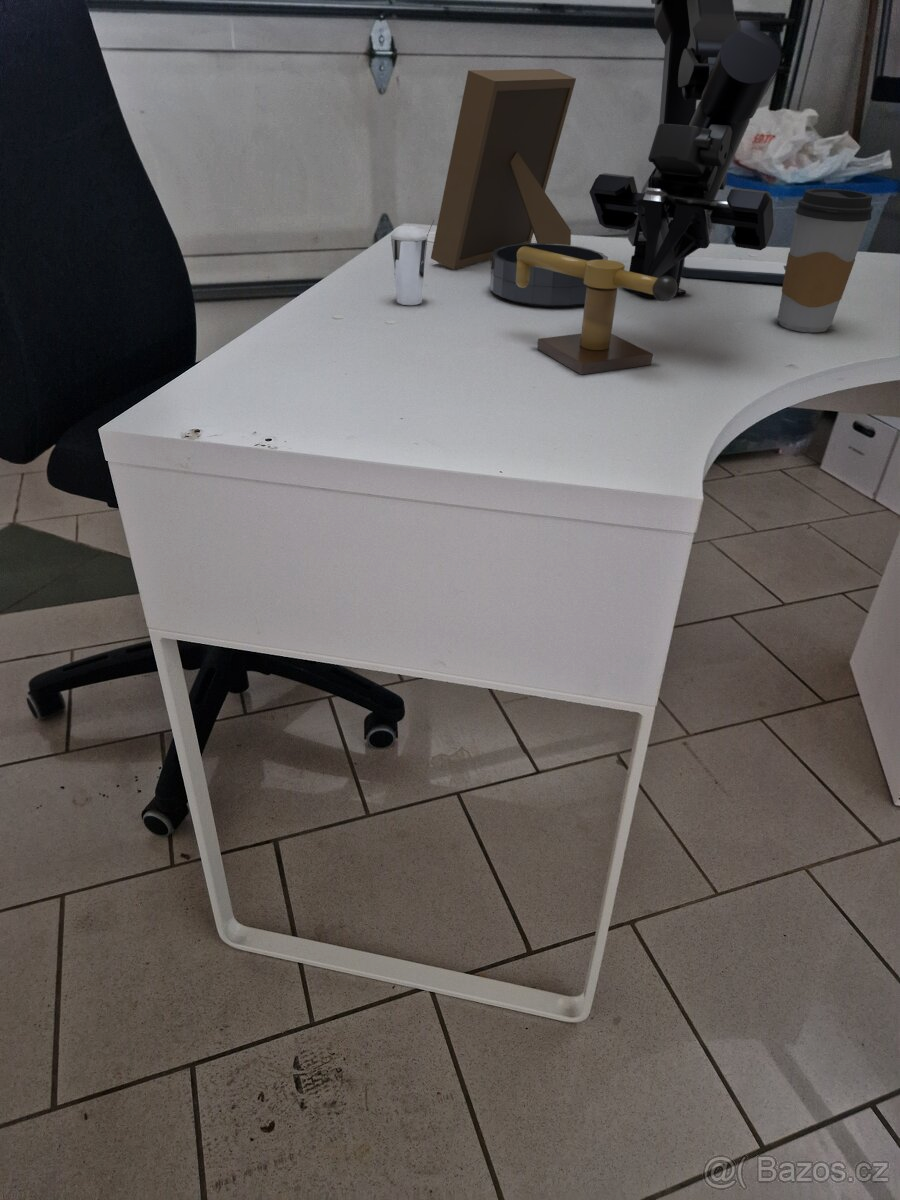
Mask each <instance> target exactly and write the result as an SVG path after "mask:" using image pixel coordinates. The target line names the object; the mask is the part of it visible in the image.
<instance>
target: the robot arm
mask: <svg viewBox="0 0 900 1200" xmlns="http://www.w3.org/2000/svg"><path fill="white" fill-rule="evenodd" d="M650 2H651V5H654V22H653V25H654V28H655V29H656V31H657V34H658V36H659V37H660V39H661V41H662V43H663V45H664V55H663V68H662V80H661V81H662V82H661V95H660V107H659V119H658V125H657V128H656V131H655V134H654V138H653V141H652V144H651V148H650V150H649V154H648V157H647V160H648V161H649V163H652V164H653V166H654V167H655V168H654V169H653V170H652V172H651V174H650V175H649V177H648V178H647V180H646V182H645V183H644V185H643V186H642V188H641V192H638V188H637V183H636V180H635V176H633V175H623V174H614V173H607V172H605V173H604V172H603V173H599V174H598V176H597V177H596V178H595V180H594V181H593V183H592V186H591V187H590V190H589V191H588V192H589V195H590V199H591V201H592V206H593V208H594V211H595V214H596V217H597V220H598V223H599V225H601V226H602V227H603V228H605V229H609V230H617V231H623V232H624V231H625V232H626V231H628V236H627V240H628V242H629V243H630V245H631V246H632V247H634V251H633V255H632V256H631V257H630V264H629V270H628V271H630V272H634V273H639V274H643V275H647V276H652V277H656V278H659V277H661V276H671V277H672V278H674V279H675V281H676V283H677V292H676V295H675V296H683V295H686V294H687V290H686V289H683V288H681V287H680V285H681V279H682V276H681V274H682V268H683V263H684V258H685V257H689V256H690V255H691V254H693V253H694V252H696V251H697V250H699V249H707V248H709V246H710V244H711V240H710V236H711V234H712V232H713V230H715V229H716V227H717V225H724V226H730V227H733V228H734V229H733V231H732V233H731V236H730V237H731V241H732V242H733V244H734V246H735V248H741V249H747V250H756V251H762V250H764V249H765V248H767V245H768V243H769V241H770V239H771V237H772V234H773V230H774V207H773V198H772V196H771V193H770V192H769V191H765V190H757V189H748V188H740V187H739V188H738V187H734V188H731V189H730V191H729V193H728V194H727V197H726V200H718V199H716V197H717V196H718V193H719V191H724V190H725V187H726V185H727V183H728V180H727V179H728V178H727V177H728V176H727V173H728V171H729V168H730V167H731V164H732V162H733V160H734V158H735V155H736V153H737V151H738V149H739V146H740V145H741V142H742V140H743V138H744V136H745V134H746V131H747V129H748V127H749V125H750V122H751V121H750V120H751V119H752V118H753V117H754V116H755V114H756V112H757V110H758V108H759V106H760V104H761V102H762V101H763V99H764V97H765V95H766V93H767V91H768V89H769V87H770V85H771V83H772V81H773V79H774V77H775V75H776V74H777V71H778V69H779V67H780V65H781V61H782V51H781V50H780V49H779V46H778V44H777V42H776V41H775V40H774V39H773V38H772V37H771V36H770V35H769V34H767V33H765V32H763V31H761V21H760V20H746V19H745V20H743V19H739V20H737V18H736V13H735V12H736V11H735V5H734V0H650ZM697 101H699V102H698V104H697ZM640 233H642V234H640ZM622 288H623V289H625V290H628V291H630V292H632V293H635V294H637V295H640V296H643V297H645V298H648V299H656V298H655V297H654V295H652V294H648V293H644V292H640V291H636V290H632V289H628V288H624V287H622ZM675 296H674V297H675Z"/></svg>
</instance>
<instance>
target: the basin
mask: <svg viewBox="0 0 900 1200" xmlns="http://www.w3.org/2000/svg"><path fill="white" fill-rule="evenodd" d="M523 246H527V247H531V248H535V249H540V250H544V251H548V252H553V253H557V254H561V255H566V256H570V257H574V258H579V259H583V260H587V261H590V260H608V259H609V257H608V256H606V255H605V254H604V253H603V252H601V251H597V250H595V249H592V248H587V247H584V246H583V247H582V246H578V245H572V244H571V245H564V244H550V243H537V242H531V243H524V244H512V245H507V246H502V247H499V248H497V249H495V250H494V251H493V252H492V259H490V260H491V263H490V281H489V288H490V290H491V292H492V293H493V294H494V295H497V296H499V297H501V298H503V299H505V300H506V301H507V300H508V301H510V302H514V303H517V304H521V305H522V304H523V305H528V306H535V307H547V308H567V307H576V306H582V305H585V297H586V289H587V285H585V284H584V283H583V281H584V279H583V278H579V277H575V276H571V275H567V274H563V273H559V272H555V271H551V270H547V269H543V268H539V267H535V266H531V272H530V282H529V284H528V286H526V287H524V288H521V287H519V286H518V285H517V284H516V269H517V251H518V250H519V249H520V248H521V247H523Z"/></svg>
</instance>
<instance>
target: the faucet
mask: <svg viewBox="0 0 900 1200" xmlns="http://www.w3.org/2000/svg"><path fill="white" fill-rule="evenodd" d="M531 266H535V267H539V268H543V269H547V270H551V271H555V272H559V273H563V274H567V275H571V276H575V277H579V278H583V279H584V281H583V283H584V284H585V285H587V286H590V287H594V288H602V289H613V288H617V289H618V288H623V287H624V288H623V289H625V288H628V289H632V290H636V291H640V292H644V293H648V294H652V295H654V297H655V298H654V299H656V300H657V301H659V302H662V303H663V302H668V301H671V300H672V299H673V298H674V297H675V295H676V292H677V283H676V281H675V279H674V278H672V277H671V276H661V277H659V278H656V277H652V276H647V275H643V274H639V273H634V272H630V271H629V270H625V264H624V263H623V262H620V261H617V260H613V259H612V260H611V259H607V260H590V261H587V260H583V259H579V258H574V257H570V256H566V255H561V254H557V253H553V252H548V251H544V250H540V249H535V248H531V247H527V246H523V247H521V248H520V249H519V250H518V251H517V269H516V284H517V285H518V286H519V287H521V288H524V287H526V286H528V284H529V282H530V272H531ZM676 296H677V295H676Z"/></svg>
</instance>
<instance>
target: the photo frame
mask: <svg viewBox="0 0 900 1200" xmlns="http://www.w3.org/2000/svg"><path fill="white" fill-rule="evenodd" d="M465 79H466V80H465V85H464V91H463V94H462V99H461V104H460V110H459V115H458V120H457V125H456V129H455V134H454V139H453V144H452V150H451V155H450V160H449V165H448V170H447V175H446V180H445V185H444V189H443V194H442V199H441V204H440V209H439V215H438V220H437V225H436V229H435V235H434V238H433V239H434V240H433V243H432V244H433V246H432V250H431V254H430V255H431V256H430V259H431V260H433V261H436V262H437V263H439V264H441V265H443V266H445V267H447V268H449V269H451V270H453V271H454V270H458V269H462V268H465V267H467V266H468V267H469V266H471V265H475V264H478V263H481V262H485V261H489V260H492V252H493V251H494V250H495V249H497V248H499V247H502V246H507V245H512V244H524V243H532V240H533V236H534V238H535V241H536V243H550V244H564V245H571V246H572V229H571V228H570V227H569V225H568V224H567V222H566V221H565V219H564V218H563V217H562V215H561V213H560V212H559V211H558V209H557V208H556V206H555V205H554V203H553V202H552V201H551V199H550V197H549V196H548V195H547V193H546V190H547V186H548V183H549V178H550V175H551V173H552V168H553V165H554V160H555V157H556V153H557V150H558V146H559V142H560V139H561V135H562V131H563V128H564V125H565V121H566V117H567V114H568V109H569V106H570V103H571V99H572V95H573V91H574V88H575V85H576V81H577V78H576V77H573V76H571V75H568V74H566V73H563V72H560V71H558V70H555V69H553V68H541V69H540V68H531V69H530V68H528V69H475V70H474V69H468V70H467V75H466V78H465Z"/></svg>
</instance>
